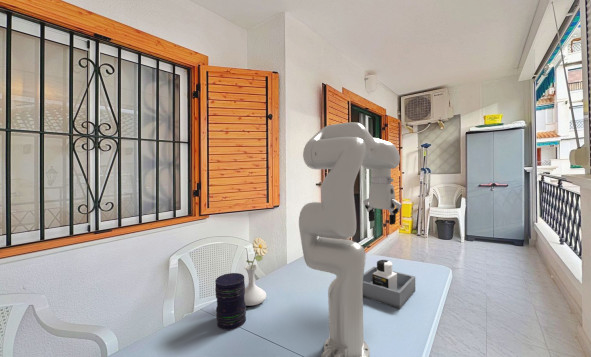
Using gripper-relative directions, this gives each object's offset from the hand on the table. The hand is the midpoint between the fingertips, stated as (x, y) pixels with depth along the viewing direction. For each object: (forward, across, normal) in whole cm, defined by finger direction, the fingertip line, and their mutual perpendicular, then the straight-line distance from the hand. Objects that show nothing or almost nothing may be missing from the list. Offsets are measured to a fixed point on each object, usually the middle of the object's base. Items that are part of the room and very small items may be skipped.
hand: (381, 222), depth 106 cm
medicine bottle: (+28, -1, 0) cm, 28 cm away
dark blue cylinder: (+30, +21, +57) cm, 68 cm away
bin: (+29, -2, 0) cm, 29 cm away
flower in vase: (+29, +29, +44) cm, 61 cm away
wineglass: (+29, +32, -14) cm, 45 cm away
